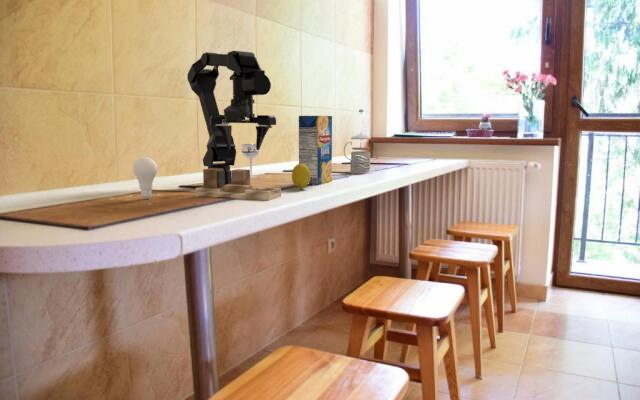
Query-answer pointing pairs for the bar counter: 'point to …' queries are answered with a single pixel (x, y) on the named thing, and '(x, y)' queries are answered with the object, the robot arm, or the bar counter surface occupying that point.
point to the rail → (245, 195)
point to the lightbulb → (145, 174)
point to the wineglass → (250, 154)
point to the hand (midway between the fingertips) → (243, 149)
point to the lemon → (301, 175)
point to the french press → (354, 159)
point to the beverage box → (316, 147)
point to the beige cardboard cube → (241, 177)
